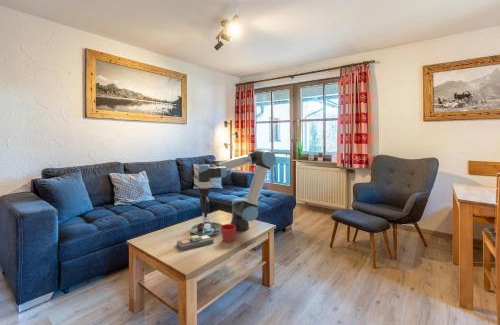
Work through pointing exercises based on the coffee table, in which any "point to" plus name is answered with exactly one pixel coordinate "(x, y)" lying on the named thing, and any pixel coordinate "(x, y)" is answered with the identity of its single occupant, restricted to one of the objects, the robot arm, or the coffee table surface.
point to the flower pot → (228, 232)
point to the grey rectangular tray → (194, 243)
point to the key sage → (195, 238)
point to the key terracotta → (184, 242)
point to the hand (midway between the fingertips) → (204, 221)
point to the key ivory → (204, 237)
